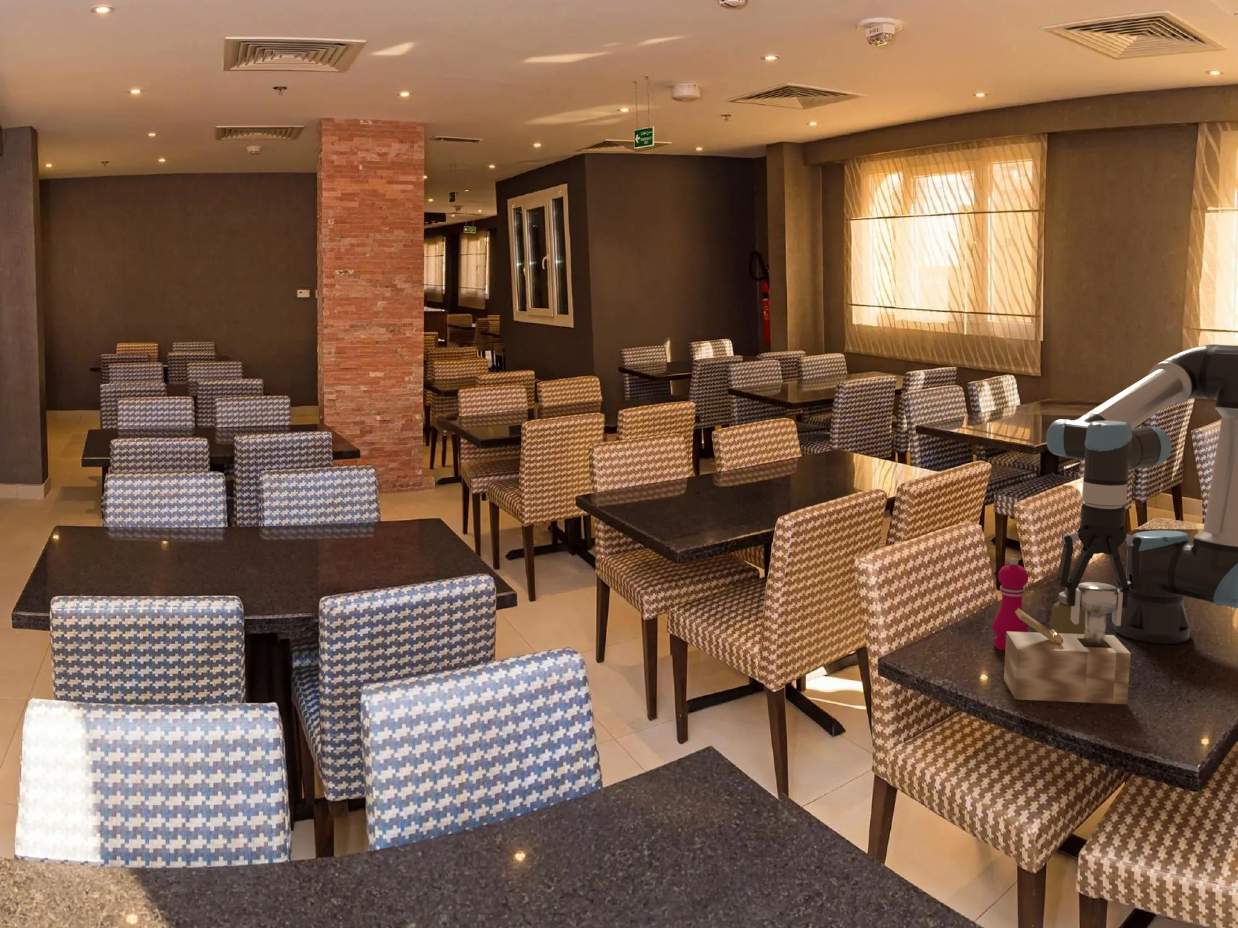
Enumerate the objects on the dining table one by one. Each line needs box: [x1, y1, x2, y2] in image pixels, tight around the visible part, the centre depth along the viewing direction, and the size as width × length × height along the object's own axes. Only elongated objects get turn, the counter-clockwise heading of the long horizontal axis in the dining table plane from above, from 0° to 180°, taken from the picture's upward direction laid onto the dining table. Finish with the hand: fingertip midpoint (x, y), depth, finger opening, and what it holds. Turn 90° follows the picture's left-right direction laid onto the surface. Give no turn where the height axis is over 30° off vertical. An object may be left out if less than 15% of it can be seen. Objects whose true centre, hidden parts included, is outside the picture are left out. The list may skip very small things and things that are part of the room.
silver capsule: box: [1077, 581, 1119, 648], centre depth 194 cm, size 7×7×12 cm
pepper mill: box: [992, 557, 1029, 652], centre depth 220 cm, size 7×7×20 cm
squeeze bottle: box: [1048, 587, 1086, 634], centre depth 211 cm, size 8×8×18 cm
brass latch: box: [1015, 608, 1063, 645], centre depth 196 cm, size 9×4×2 cm
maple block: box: [1003, 631, 1132, 705], centre depth 196 cm, size 20×10×10 cm, turn 81°
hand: (1095, 622), depth 194 cm, fingers closed on silver capsule, 7 cm apart
